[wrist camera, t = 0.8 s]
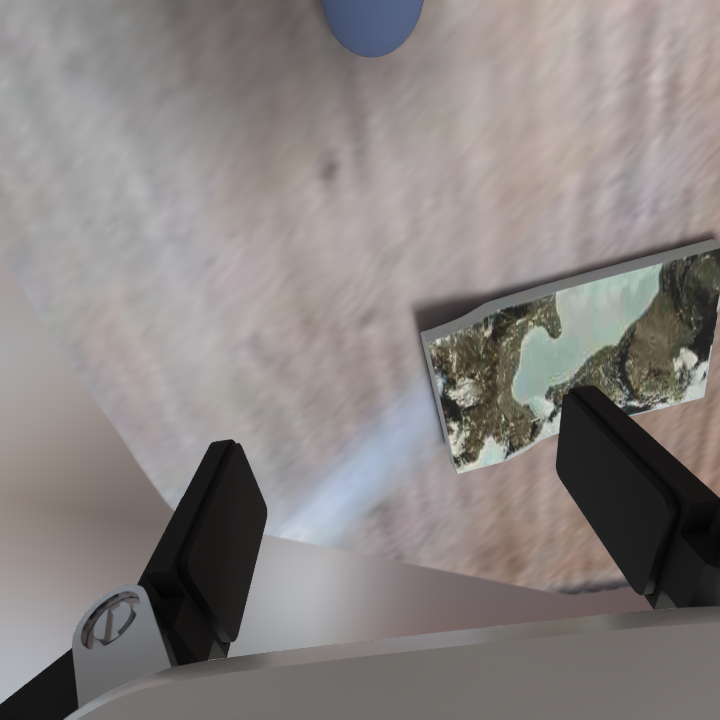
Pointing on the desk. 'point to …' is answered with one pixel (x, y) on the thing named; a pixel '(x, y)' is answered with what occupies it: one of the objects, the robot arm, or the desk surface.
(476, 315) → the topographical model
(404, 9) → the ball
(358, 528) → the desk surface
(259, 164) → the desk surface
